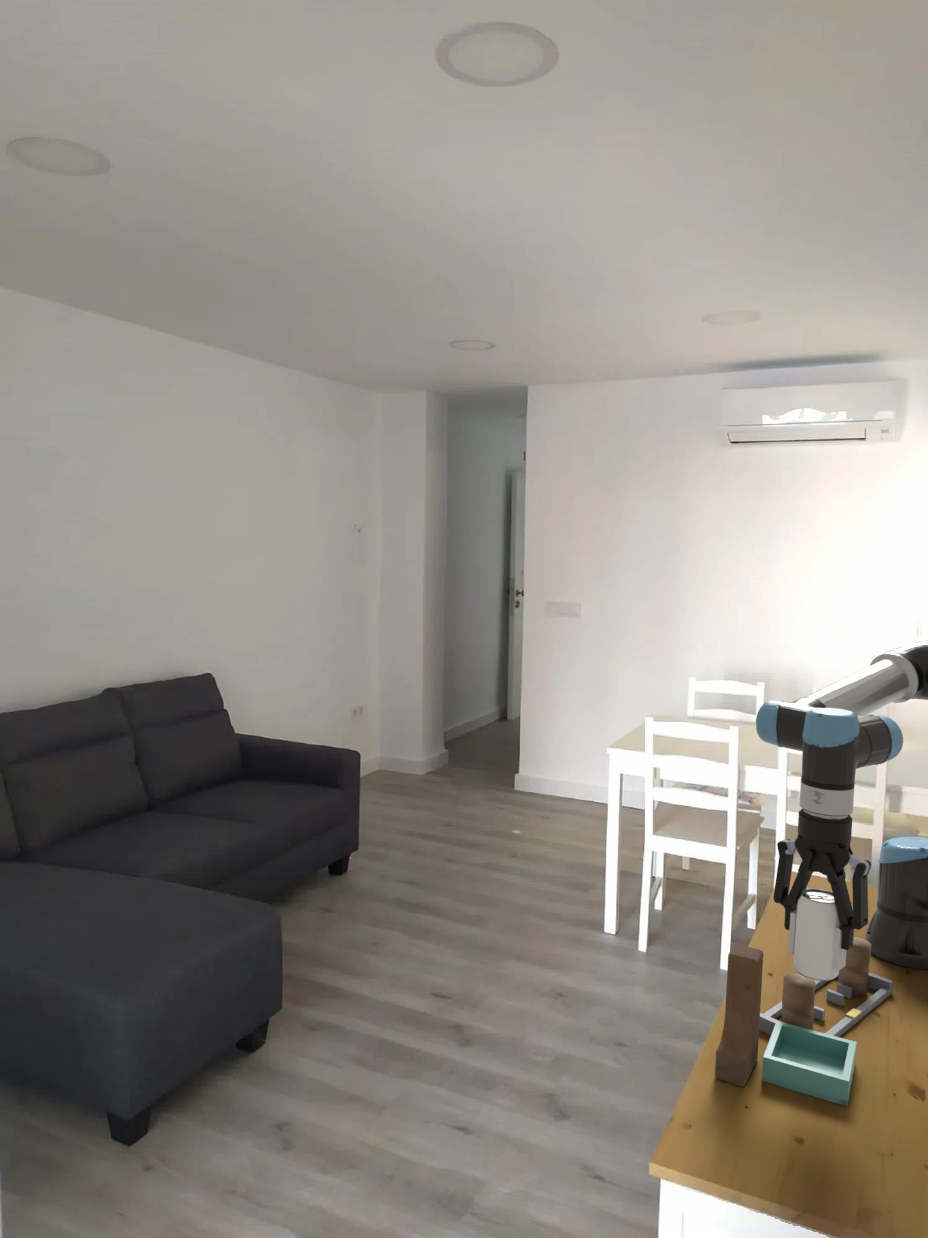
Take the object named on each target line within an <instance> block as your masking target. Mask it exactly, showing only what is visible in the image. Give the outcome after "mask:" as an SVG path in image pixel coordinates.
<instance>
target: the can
mask: <svg viewBox="0 0 928 1238" xmlns="http://www.w3.org/2000/svg"><path fill="white" fill-rule="evenodd" d="M840 925H841V924H840V920H839V916H838V912H837V908H836V904H835V900H834V896H833V892H832V891H829V890H826V889H820V888H806V889H805V890H802V891H801V897H800V898H799V900H798V903H797V916H796V931H795V947H794V954H793V968H794V969H795V971H796V972H797V974H801V975H802V976H805V977H807V978H810V979H813V980H819V981H828V982H830V981H833V980H835V979H836V978H838V975H839V971H838V972H837V971H835V970H833V956H834V940H835V928H836V927H838V926H840ZM829 980H830V981H829Z"/></svg>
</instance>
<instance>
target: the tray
mask: <svg viewBox="0 0 928 1238" xmlns="http://www.w3.org/2000/svg"><path fill="white" fill-rule="evenodd" d="M780 1021H781V1020H778V1021H776V1024H775V1027H774V1030H773V1032H772V1035H770V1038H769V1040H768V1043H767V1046H766V1048H765V1051H764V1054H763V1057H762V1069H761V1070H762V1071H761V1073H762V1074H761V1082H764V1083H768V1084H772V1085H774V1086H778V1087H780V1088H781V1087H782V1088H785V1089H788V1090H790V1091H791V1090H792V1091H794V1092H798V1093H801V1094H804V1095H809V1096H812V1097H815V1098H818V1099H822V1100H825V1101H828V1102H832V1103H834V1104H837V1105H841V1106H844V1107H848V1105H849V1101H850V1095H851V1089H852V1085H853V1084H852V1083H853V1077H854V1073H855V1068H856V1057H857V1056H856V1055H857V1043H858V1042H857V1041H854V1040H850V1039H847V1038H843V1037H841V1036H840V1037H836V1036H832V1035H829V1034H825V1033H826V1032H821V1031H820V1032H819V1031H817V1030H814V1029H813V1030H810V1029H806V1028H802V1027H799V1026H795V1025H791V1024H787V1023H783V1022H780Z"/></svg>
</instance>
